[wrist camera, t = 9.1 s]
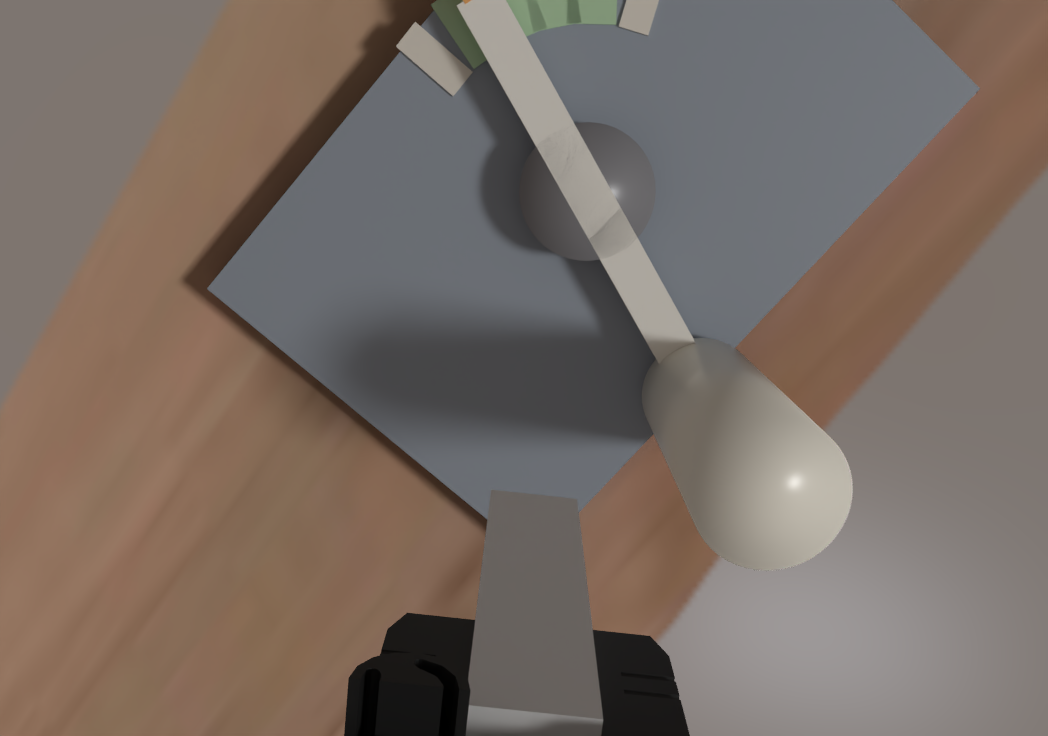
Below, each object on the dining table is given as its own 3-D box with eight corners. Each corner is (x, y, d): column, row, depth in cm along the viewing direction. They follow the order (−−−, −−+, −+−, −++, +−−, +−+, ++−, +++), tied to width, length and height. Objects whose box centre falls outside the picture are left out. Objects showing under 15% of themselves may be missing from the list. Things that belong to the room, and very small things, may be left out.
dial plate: (635, -239, 31) (639, -256, 30) (963, 90, 33) (981, 88, 32) (213, 280, 35) (200, 285, 33) (534, 545, 37) (534, 559, 35)
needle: (389, -15, 31) (327, -91, 21) (509, -91, 30) (503, -205, 21) (670, 472, 34) (729, 601, 25) (782, 411, 34) (887, 519, 24)
